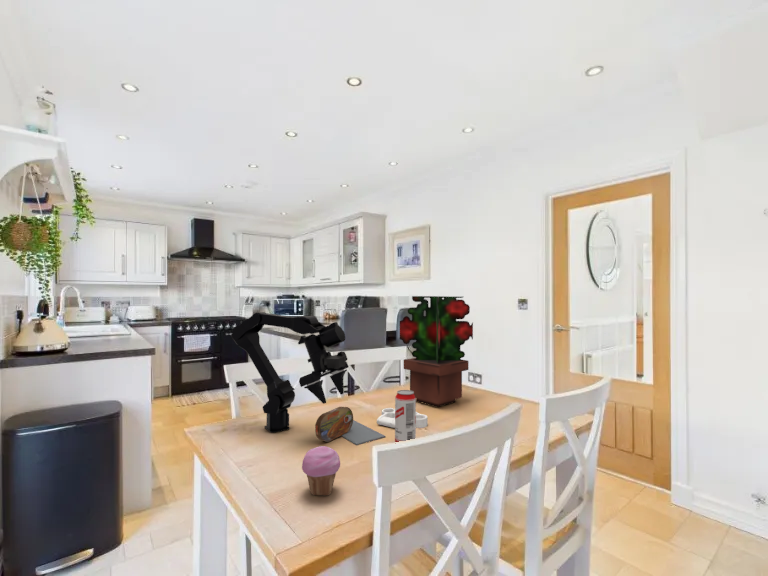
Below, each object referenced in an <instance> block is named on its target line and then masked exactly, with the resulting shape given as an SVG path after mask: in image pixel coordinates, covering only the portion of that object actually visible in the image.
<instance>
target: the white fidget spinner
mask: <svg viewBox="0 0 768 576" xmlns="http://www.w3.org/2000/svg"><path fill="white" fill-rule="evenodd" d="M376 424H377V425H379V426H385V427H389V428H391V429H395V408H393V407H387V408H383V409H382V410H381V415H380V416H378V417H377V419H376ZM426 427H428V415H427V414H423V413H419V412H418V411H416V429H417V428H418V429H424V428H426Z"/></svg>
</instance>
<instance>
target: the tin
mask: <svg viewBox="0 0 768 576" xmlns="http://www.w3.org/2000/svg"><path fill="white" fill-rule="evenodd" d="M353 420H354V413H353V411H352V409H351V408H350V407H349V406H338V407H335V408H332V409H331V410H329V411H326V412H324V413H322V414H320V415H319V416H318V418H317V419H316V422H315V425H314V426H315V429H314V431H315V436H316V437H317V439H318V440H320V441H324V442H326V443H329V442H332V441H334V440H335V439H337V438H340V437H342V436H341V435H343V434H345V433H347V432H348V431H349V430H350V429H351V427H352V424H353Z"/></svg>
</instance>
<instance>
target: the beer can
mask: <svg viewBox="0 0 768 576" xmlns="http://www.w3.org/2000/svg"><path fill="white" fill-rule="evenodd" d="M394 397H395V399H394V401H395V402H394V403H395V404H394V407H395V408H394V409H395V428H394V443H395V442H399V441H406V440H410V439H415V438H416V437H417V436H416V434H417V432H416V431H417V430H416V429H417V428H416V412H417V409H416V407H417V405H416V403H417V401H416V398H415V395H414V392H413V391H411V390H410V389H400V390H397V393H396V395H395V396H394ZM416 439H417V438H416Z"/></svg>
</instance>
